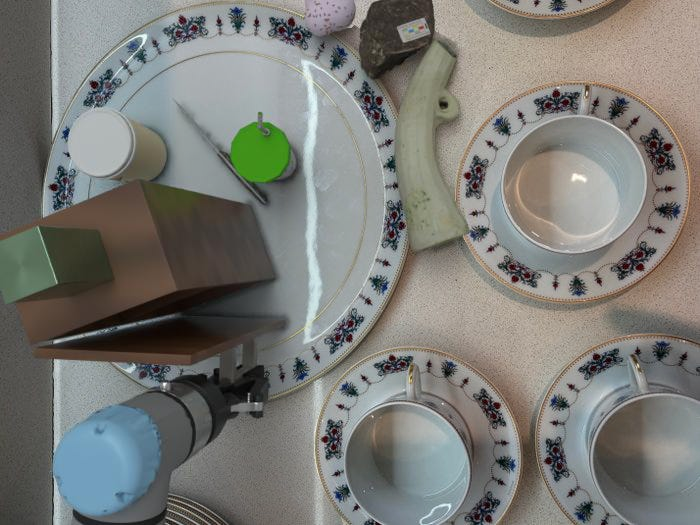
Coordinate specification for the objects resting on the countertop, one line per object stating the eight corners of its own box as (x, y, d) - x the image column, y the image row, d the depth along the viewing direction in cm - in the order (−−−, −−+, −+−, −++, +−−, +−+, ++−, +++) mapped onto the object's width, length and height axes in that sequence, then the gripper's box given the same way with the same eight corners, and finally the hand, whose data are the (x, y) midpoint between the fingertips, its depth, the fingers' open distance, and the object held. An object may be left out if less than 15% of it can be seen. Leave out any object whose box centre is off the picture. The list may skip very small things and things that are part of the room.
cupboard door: (283, 367, 94) (189, 428, 61) (178, 362, 97) (33, 418, 64) (284, 319, 94) (190, 355, 61) (178, 315, 97) (33, 347, 64)
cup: (276, 202, 94) (242, 192, 79) (243, 159, 95) (203, 142, 80) (319, 166, 93) (292, 150, 78) (285, 123, 94) (253, 99, 79)
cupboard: (276, 277, 94) (177, 290, 61) (177, 313, 97) (30, 345, 64) (250, 204, 95) (138, 178, 62) (152, 242, 97) (-7, 237, 64)
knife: (173, 103, 97) (164, 98, 94) (180, 96, 96) (171, 91, 93) (264, 206, 95) (258, 205, 92) (271, 200, 94) (265, 198, 91)
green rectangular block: (115, 279, 62) (57, 284, 53) (68, 297, 63) (4, 304, 54) (97, 229, 62) (37, 225, 53) (51, 247, 63) (-15, 246, 54)
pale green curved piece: (405, 254, 91) (478, 246, 90) (406, 254, 83) (487, 245, 82) (380, 50, 91) (454, 40, 90) (380, 29, 83) (461, 18, 82)
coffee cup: (100, 160, 99) (51, 148, 87) (138, 110, 97) (94, 91, 86) (146, 200, 97) (103, 193, 86) (185, 150, 96) (146, 136, 85)
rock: (427, -15, 87) (451, 42, 86) (408, 13, 93) (430, 66, 93) (357, 5, 84) (381, 63, 83) (343, 32, 91) (366, 86, 90)
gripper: (251, 385, 64) (307, 349, 87) (108, 376, 66) (200, 343, 89) (249, 463, 64) (306, 406, 87) (107, 451, 66) (199, 399, 90)
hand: (252, 374), depth 88 cm, fingers closed on cupboard door, 2 cm apart
